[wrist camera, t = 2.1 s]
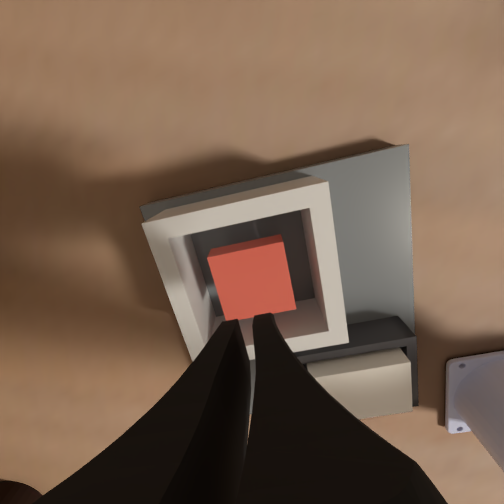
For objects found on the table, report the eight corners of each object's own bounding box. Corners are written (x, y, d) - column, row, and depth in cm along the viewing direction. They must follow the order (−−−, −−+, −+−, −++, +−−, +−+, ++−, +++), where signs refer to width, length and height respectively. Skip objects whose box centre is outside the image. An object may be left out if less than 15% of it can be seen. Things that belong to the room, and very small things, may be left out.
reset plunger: (280, 234, 15) (283, 241, 14) (293, 296, 16) (296, 309, 15) (211, 248, 15) (206, 257, 14) (228, 309, 17) (226, 322, 15)
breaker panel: (395, 145, 16) (455, 140, 12) (406, 373, 22) (448, 434, 17) (148, 202, 18) (108, 220, 13) (219, 403, 24) (210, 468, 19)
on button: (398, 346, 17) (410, 362, 16) (401, 393, 19) (412, 411, 17) (306, 362, 18) (310, 378, 17) (314, 406, 19) (319, 425, 18)
